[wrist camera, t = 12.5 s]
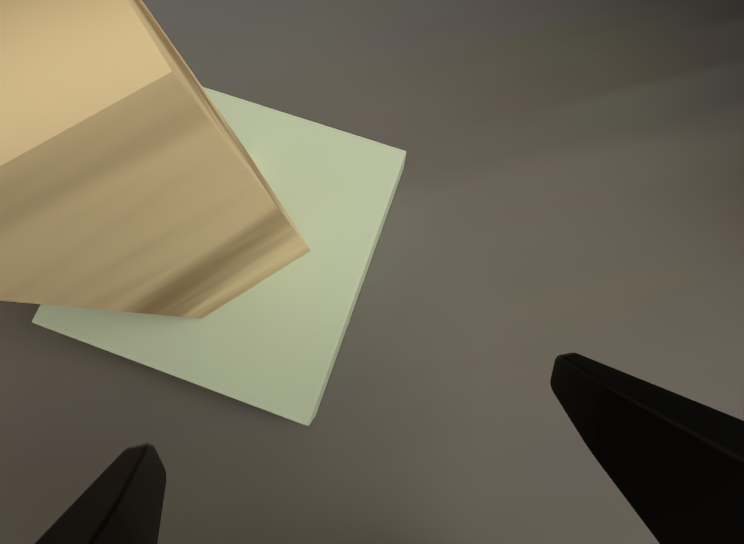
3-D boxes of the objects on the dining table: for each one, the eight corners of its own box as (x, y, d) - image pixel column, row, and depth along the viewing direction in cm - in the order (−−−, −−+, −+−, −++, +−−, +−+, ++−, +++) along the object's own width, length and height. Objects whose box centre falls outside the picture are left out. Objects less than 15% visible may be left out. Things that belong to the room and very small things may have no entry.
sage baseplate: (315, 416, 18) (308, 426, 16) (67, 323, 19) (31, 322, 17) (403, 169, 20) (406, 151, 18) (177, 96, 21) (157, 72, 19)
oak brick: (310, 250, 17) (172, 71, 5) (201, 318, 17) (-210, 282, 5) (249, 154, 18) (17, -178, 6) (144, 216, 18) (-321, -22, 6)
